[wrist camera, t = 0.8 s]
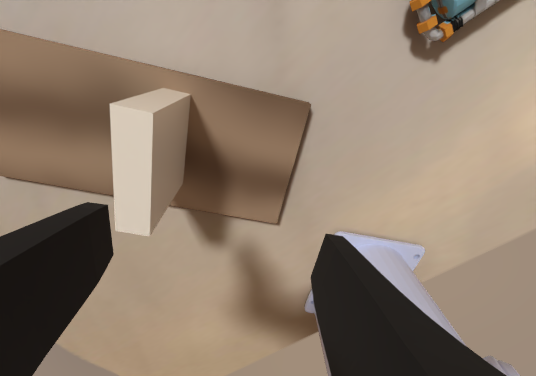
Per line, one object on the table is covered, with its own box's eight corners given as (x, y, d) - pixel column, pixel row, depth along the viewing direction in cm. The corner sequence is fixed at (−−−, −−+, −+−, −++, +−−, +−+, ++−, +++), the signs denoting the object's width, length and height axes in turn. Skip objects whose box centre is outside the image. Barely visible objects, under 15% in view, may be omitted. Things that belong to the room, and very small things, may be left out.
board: (275, 218, 20) (276, 223, 20) (-3, 168, 18) (-14, 173, 17) (309, 102, 16) (311, 104, 16) (-42, 19, 14) (-59, 17, 13)
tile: (183, 182, 18) (149, 236, 12) (158, 178, 18) (114, 230, 12) (190, 94, 15) (153, 113, 10) (162, 87, 15) (108, 103, 10)
